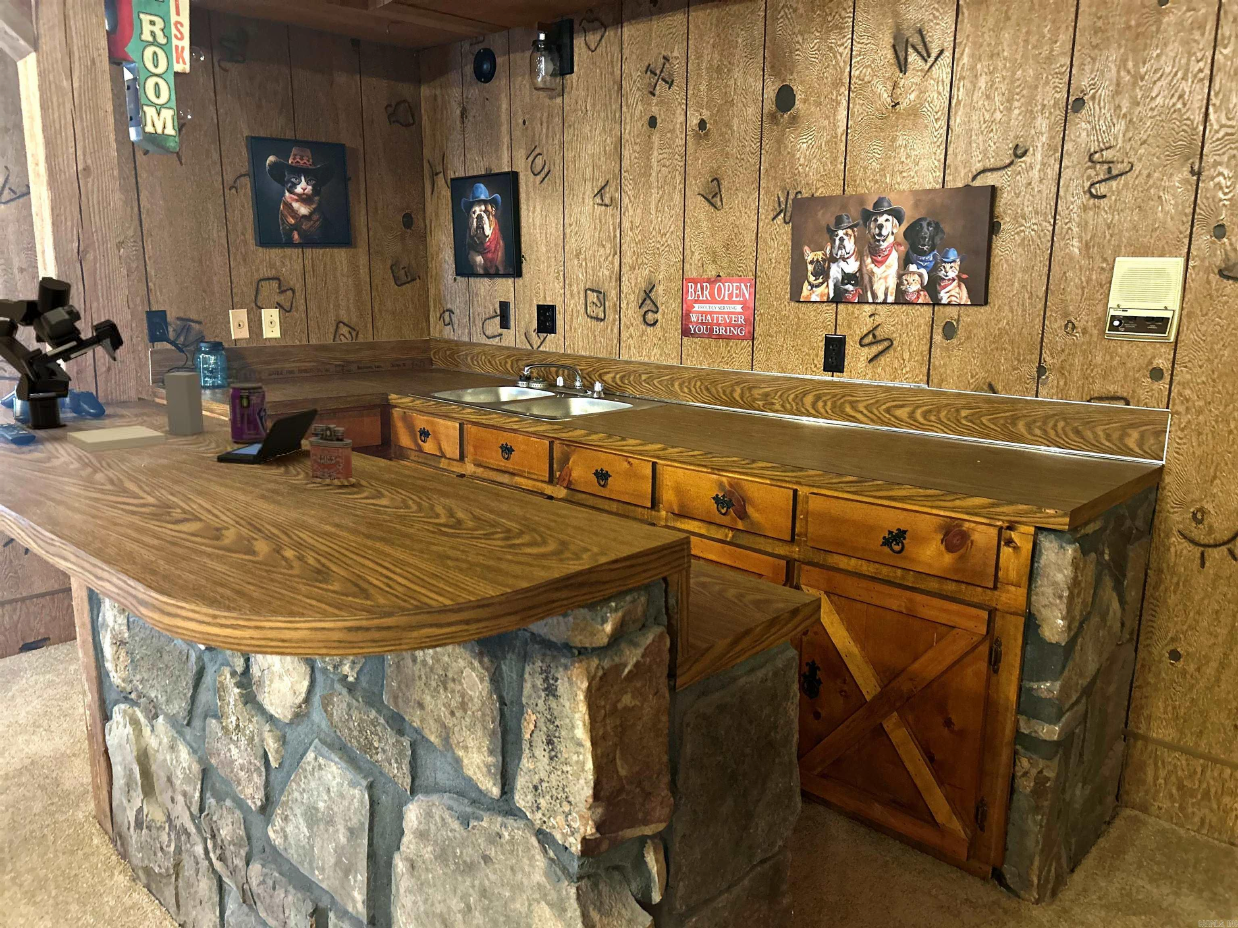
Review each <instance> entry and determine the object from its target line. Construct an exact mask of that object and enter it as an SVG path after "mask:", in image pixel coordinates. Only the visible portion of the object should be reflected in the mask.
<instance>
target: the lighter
mask: <svg viewBox="0 0 1238 928" xmlns="http://www.w3.org/2000/svg"><path fill="white" fill-rule="evenodd" d="M345 430H346V428H344V427H338V426H337V425H336V424H329V425H325V424H313V425H311V432H312V433H317V434H318V437H317V436H316V437H310V438H308V445H309V451H310V452H309V453H310V470H311V471H310V473H311V476H310V479H311V478H317V479H318V478H319V479H330V480H331V479H332V480H333V479H334V480H335V479H349V478H353V461H352V460H353V458H352V446H353V440H351V439H346V438H344V437H345V434H346V431H345Z"/></svg>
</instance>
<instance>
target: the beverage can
mask: <svg viewBox="0 0 1238 928" xmlns="http://www.w3.org/2000/svg"><path fill="white" fill-rule="evenodd" d="M229 386H230V389H229V391H228V408H229V419H230V421H229V422H230V434H231V435H230V436H231V439H232V440H233V441H235V442H236V443H239V444H255V443H258V442H264V439H265V437H266V435H267V433H268V432H269V429H268V418H267V402H266V401H267V400H266V398H267V397H266V391H265V390H264V389H263V383H260V382H238V383H237V382H236V383H231V384H230V385H229Z"/></svg>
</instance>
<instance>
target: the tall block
mask: <svg viewBox="0 0 1238 928" xmlns="http://www.w3.org/2000/svg"><path fill="white" fill-rule="evenodd" d="M163 378H164V390H165V399H166V400H165V401H166V404H165V405H166V413H167V424H168V434H169V435H175V436H176V435H179V436H192V435H196V434H200V433H203V432H205V429H204V428H205V427H204V426H205V425H204V414H203V404H202V403H203V402H202V391H201V389H202V388H201V376H200V372H190V371H189V372H188V371H187V372H186V371H175V372H170V373H166V374H165V373H164V374H163Z"/></svg>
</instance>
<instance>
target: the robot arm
mask: <svg viewBox="0 0 1238 928" xmlns="http://www.w3.org/2000/svg"><path fill="white" fill-rule="evenodd" d="M71 294H72V284H71V283H70V282H67V281H64V280H61V279H58V278H54V277H53V276H42V277H41V279H40V280H39V281H38V290H37V299H19V300H13V299H10V298H9V299H8V298H0V318H5V319H0V357H1V358H3V359H4V360H5V361H6V362H7V363H8V364H9V365H10V366H11V367H12V368H14V369H15V370H16V371H17V372H18V373H19V374H20V376H19V380H18V383H17V386H16V388H15V395H16V398H17V400H18V401H21V402H25V403H26V402H27V404H28V411H29V413H28V414H29V420H30V421H29V422H27V423H25V426H26V427H29V428H30V429H33V430H39V429H49V428H60V427H66V426H67V423H65V422H63V421H61V420H62V419H61V411H60V401H59V399H68V398H69V391H70V390H69V389H70V382H72V381H73V379H72V378H71V376H70V375H69V374H68V372H67V371H66V370H65V369H64V368H63V367H62V364H61V363H59V362H58V361H62V362H63V363H65V364H66V363H67V362H70V361H72V360H75V359H77V358H79V357H82V356H84V355H86V354H88V352H89V351H91V350H94V349H97V348H99V347H101V348H102V349H103V350H104V352H105V354H106V355H107V356H108V357H109V359H110V360H111V361H113V362H117V357H116V352H117V351H118V350H120V347H122V346H123V345H124V344H125V343H124V340H123V337H122V335H121V332H120V330H119V327H118V326H117V324H116V322H114V321H113V320H112V319H109V318H107V319H105V320H102V321H100V322H98V323H95V324H93V325H92V326H91V328H92V330H93V332H94V335H91V336H90V337H88V338H83V337H82V336H81V335H82V332H81V330H80V329H79V327H77V325H76V323H77V322H79V321H82V316H81V312H80V311H79V310H78V308H76V306H75V305H74V304H73V303H72V304H71V303H70V302H71ZM8 319H9V320H8ZM20 326H21V327H23V328H26V327H31V328H33V331H34V332H35V337H34V340H35V343H37V344H44V343H46V344H47V345H48V346H49V347H50V348H51V349H49V350H48V351H46V352H43V350H42V349H41V347H38V348H35V349H33V350H30V349H29V348H28V347H26V346H25V345H24V344H23V343H22V342H21V341H19V340H18V338H16V336H17V333H18V330H19V328H20Z"/></svg>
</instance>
